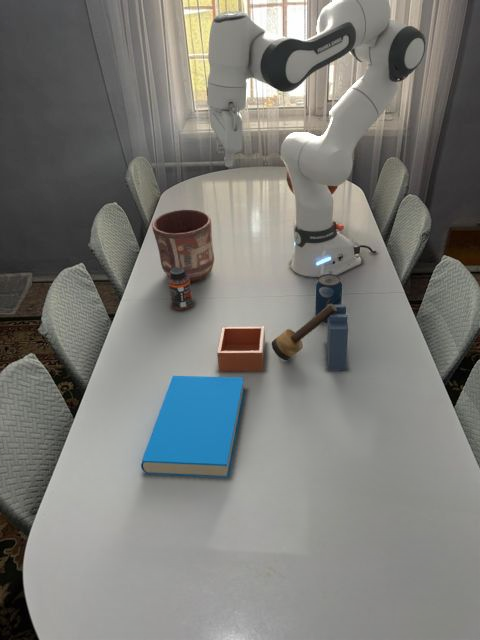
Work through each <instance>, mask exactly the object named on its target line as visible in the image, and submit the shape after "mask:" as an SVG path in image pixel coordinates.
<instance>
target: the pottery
mask: <svg viewBox="0 0 480 640" xmlns="http://www.w3.org/2000/svg"><path fill="white" fill-rule="evenodd" d="M151 226H152V232H153V235H154V239H155V242H156V245H157V250H158V255H159V260H160V265H161V269H162V270H163V272H164V273H165V274H166V276H167V277H168V278H169V277H170V276H171V273H170V271H171V269H173V268H176V267H181V268H184V270H185V274H186V275H188V276H189V279H190V284H194V283H198V282H200V281H202V280H204V279H205V278H206V277H208V275H209V274H210V273H211V272H212V269H213V268H214V263H215V253H214V245H213V233H212V232H213V231H212V218H211V217H210V215H209V214H207V213H205V212H203V211H199V210H196V209H195V210H194V209H179V210H172V211H169V212H165V213H164V214H161V215H159V216H157V217H156V218H155V219H153V221H152V223H151Z"/></svg>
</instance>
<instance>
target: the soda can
mask: <svg viewBox="0 0 480 640" xmlns="http://www.w3.org/2000/svg"><path fill="white" fill-rule="evenodd" d="M343 285H344V284H343V283H342V281H341V277H340V276H339V275H334V274H324V275H322V276H320V277H317V281H316V283H315V306H314V314H315V315H314V316H316V315H317V314H318V313H320V312H321V311H322V310H323V309H325V308H326V307H327V306H328V305H329V304H333V305H343V287H344V286H343ZM327 322H328V318H327V319H326V320H325V321H324V322H322V323H321V324H326V325H327Z"/></svg>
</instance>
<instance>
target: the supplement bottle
mask: <svg viewBox="0 0 480 640" xmlns="http://www.w3.org/2000/svg"><path fill="white" fill-rule="evenodd" d="M170 273H171V276H170V277H169V276H168V279H167V280H168V287H169V294H170V299H171V303H172V304H171V305H172V307H173V308H174V309H175V310H180V311H182V310H183V311H184V310H188V309H190V308H191V307H192V306H193V304H194V300H193V294H192V287H191V283H190V279H189V276H188V275H186V274H185V270H184V268H181V267H176V268H173V269H171V271H170Z"/></svg>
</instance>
